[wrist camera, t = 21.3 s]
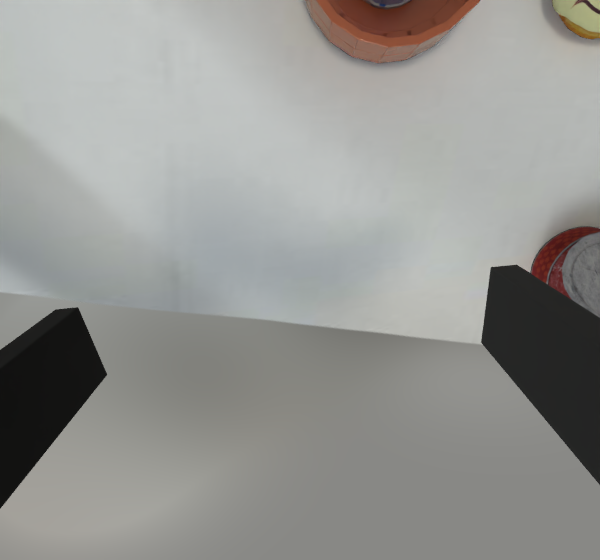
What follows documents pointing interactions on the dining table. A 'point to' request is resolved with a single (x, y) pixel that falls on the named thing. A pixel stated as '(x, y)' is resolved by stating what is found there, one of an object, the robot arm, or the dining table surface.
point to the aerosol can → (387, 3)
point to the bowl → (387, 26)
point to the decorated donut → (580, 16)
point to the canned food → (572, 266)
